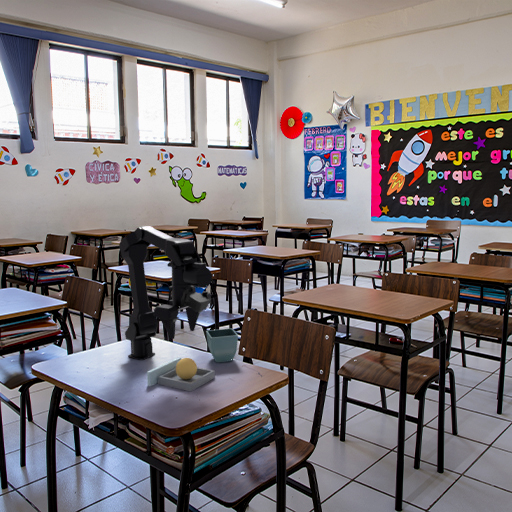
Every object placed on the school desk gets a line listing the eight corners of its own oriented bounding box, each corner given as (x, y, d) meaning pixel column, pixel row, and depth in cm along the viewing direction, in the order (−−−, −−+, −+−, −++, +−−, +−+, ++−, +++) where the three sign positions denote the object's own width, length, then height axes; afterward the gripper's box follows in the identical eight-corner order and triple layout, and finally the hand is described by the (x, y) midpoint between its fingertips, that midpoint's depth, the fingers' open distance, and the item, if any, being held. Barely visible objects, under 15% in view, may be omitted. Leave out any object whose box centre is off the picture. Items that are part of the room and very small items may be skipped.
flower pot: (211, 365, 153) (210, 337, 152) (206, 357, 161) (205, 330, 160) (239, 362, 155) (238, 335, 154) (232, 354, 164) (232, 328, 163)
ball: (171, 380, 139) (170, 360, 138) (184, 373, 144) (184, 353, 144) (188, 384, 136) (188, 363, 136) (201, 377, 142) (200, 356, 141)
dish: (158, 384, 138) (157, 376, 138) (183, 371, 148) (183, 364, 148) (191, 391, 133) (190, 383, 132) (214, 377, 143) (214, 370, 142)
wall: (147, 385, 137) (147, 371, 137) (179, 370, 149) (178, 357, 149) (150, 386, 137) (149, 372, 136) (181, 370, 149) (181, 357, 148)
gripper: (183, 291, 132) (184, 347, 134) (222, 280, 148) (222, 331, 150) (151, 287, 138) (153, 341, 140) (193, 277, 154) (193, 325, 156)
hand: (182, 334), depth 146 cm, fingers open, 9 cm apart
